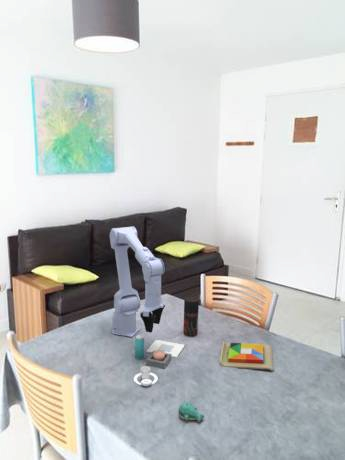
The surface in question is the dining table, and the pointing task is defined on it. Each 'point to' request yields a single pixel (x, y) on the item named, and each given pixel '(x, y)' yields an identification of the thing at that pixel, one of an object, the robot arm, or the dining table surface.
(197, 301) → the deodorant
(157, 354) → the button
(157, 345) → the pad
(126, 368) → the dining table surface
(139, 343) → the marker
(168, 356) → the housing
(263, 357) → the wooden puzzle
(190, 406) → the whale figurine
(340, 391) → the dining table surface
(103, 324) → the dining table surface
